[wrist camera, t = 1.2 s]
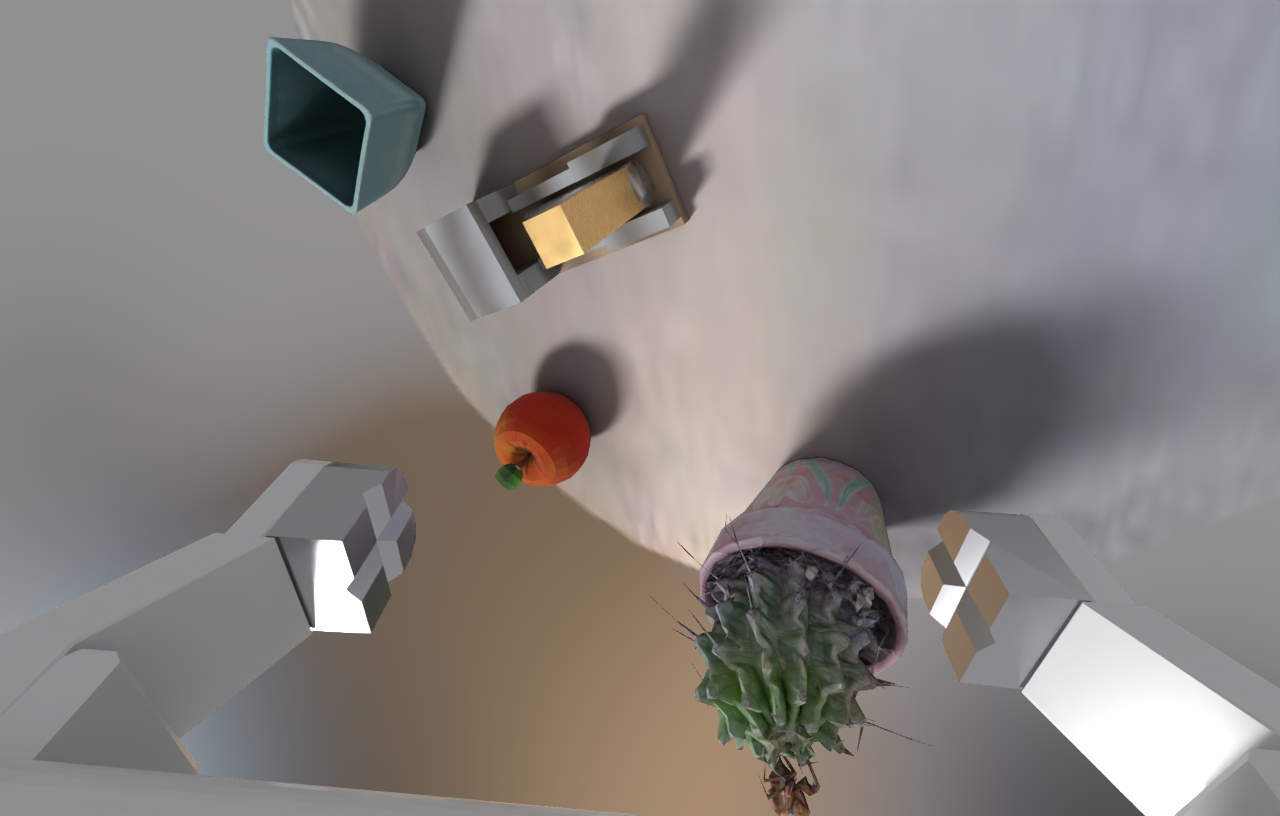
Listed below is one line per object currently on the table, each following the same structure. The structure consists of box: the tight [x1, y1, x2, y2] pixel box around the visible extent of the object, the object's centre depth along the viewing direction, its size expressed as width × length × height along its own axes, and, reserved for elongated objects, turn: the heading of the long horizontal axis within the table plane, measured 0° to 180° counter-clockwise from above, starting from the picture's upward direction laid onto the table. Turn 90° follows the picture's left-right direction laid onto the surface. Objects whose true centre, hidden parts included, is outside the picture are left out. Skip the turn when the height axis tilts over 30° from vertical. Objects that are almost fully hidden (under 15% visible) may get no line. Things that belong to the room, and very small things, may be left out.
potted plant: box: [677, 457, 919, 816], centre depth 44 cm, size 18×20×25 cm
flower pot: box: [264, 37, 426, 214], centre depth 46 cm, size 9×9×9 cm
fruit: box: [494, 391, 591, 490], centre depth 58 cm, size 10×10×10 cm
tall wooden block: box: [523, 161, 654, 269], centre depth 41 cm, size 10×3×12 cm, turn 117°
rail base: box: [417, 113, 689, 321], centre depth 45 cm, size 18×8×7 cm, turn 117°
